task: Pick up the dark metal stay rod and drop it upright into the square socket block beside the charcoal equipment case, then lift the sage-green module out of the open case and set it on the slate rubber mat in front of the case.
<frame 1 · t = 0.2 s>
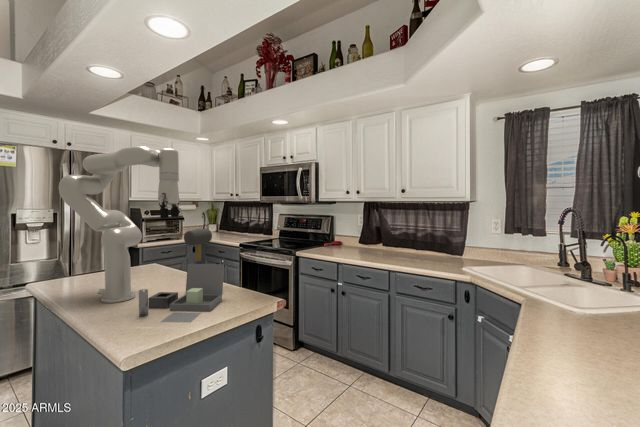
hand: (169, 217, 133), 36 cm above the countertop, tool pointing down, fingers open, 9 cm apart
square socket block: (163, 305, 127), on the countertop
module: (194, 306, 124), resting on case
rubber mallet: (198, 291, 148), on the countertop
case: (197, 306, 126), on the countertop
mat: (181, 318, 113), on the countertop
lid: (204, 279, 134), point 9 cm above the countertop, hinge at 100.0°
stay rod: (143, 316, 115), on the countertop
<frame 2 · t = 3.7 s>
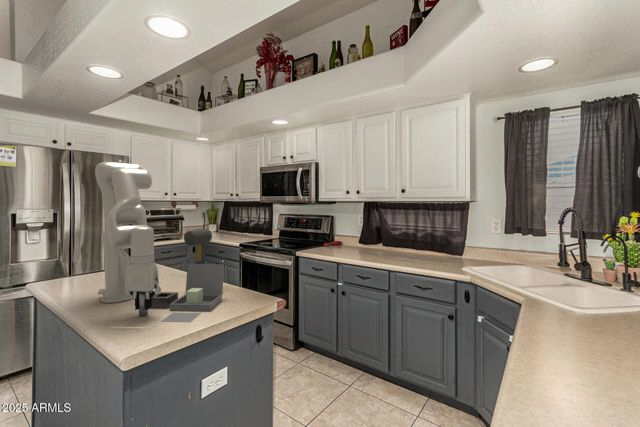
hand: (143, 308, 114), 3 cm above the countertop, tool pointing down, fingers closed on stay rod, 3 cm apart
stay rod: (143, 316, 115), on the countertop, touching gripper
everything else where it was.
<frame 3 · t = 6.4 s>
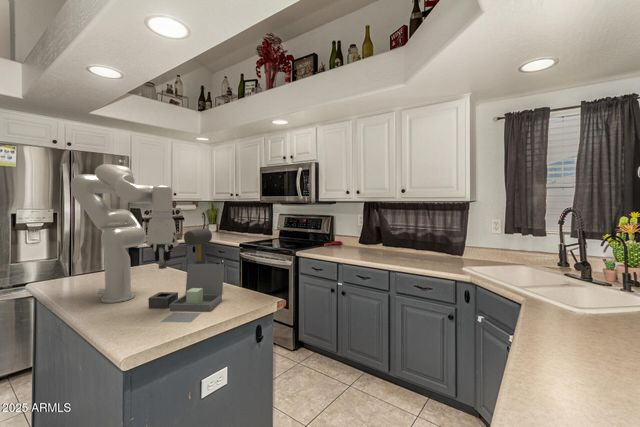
hand: (162, 260, 126), 19 cm above the countertop, tool pointing down, fingers closed on stay rod, 3 cm apart
stay rod: (162, 268, 126), point 16 cm above the countertop, touching gripper
everything else where it was.
when the fingers open (6 cm above the countertop, at t = 9.1 s): stay rod drops 3 cm, resting in square socket block.
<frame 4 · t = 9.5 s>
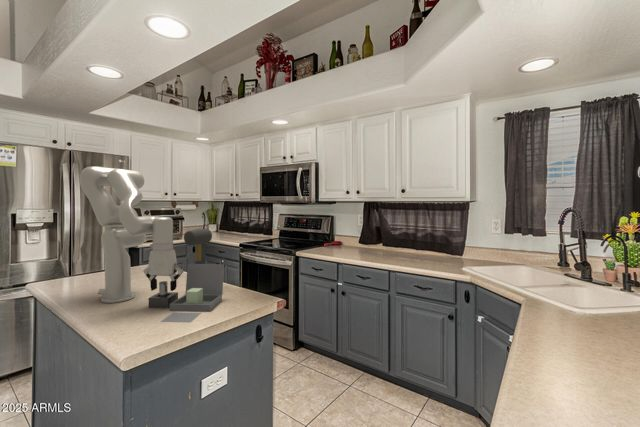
hand: (163, 289, 126), 7 cm above the countertop, tool pointing down, fingers open, 7 cm apart
stay rod: (163, 305, 127), resting in square socket block
everything else where it was.
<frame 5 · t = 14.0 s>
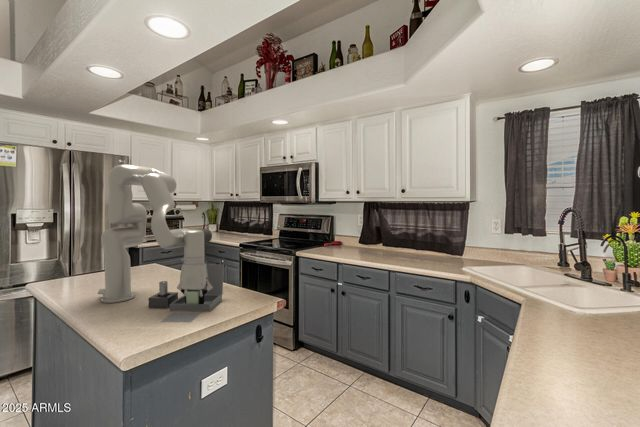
hand: (194, 304, 124), 1 cm above the countertop, tool pointing down, fingers closed on module, 4 cm apart
module: (194, 306, 124), resting on case, touching gripper
everything else where it was.
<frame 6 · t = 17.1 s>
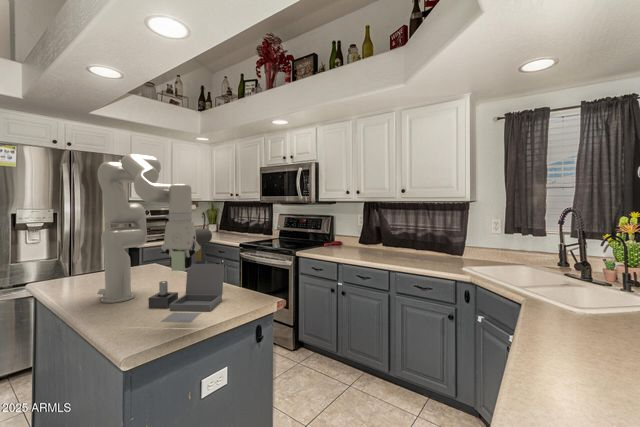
hand: (181, 266, 112), 19 cm above the countertop, tool pointing down, fingers closed on module, 4 cm apart
module: (181, 269, 112), point 18 cm above the countertop, touching gripper
everything else where it was.
when the fingers open (3 cm above the countertop, at t = 20.5 s): module drops 1 cm, resting on mat.
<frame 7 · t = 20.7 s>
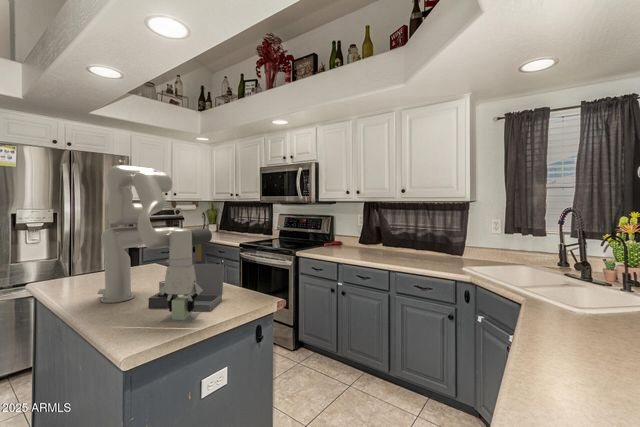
hand: (181, 310, 113), 3 cm above the countertop, tool pointing down, fingers open, 6 cm apart
module: (181, 317, 113), resting on mat
everything else where it was.
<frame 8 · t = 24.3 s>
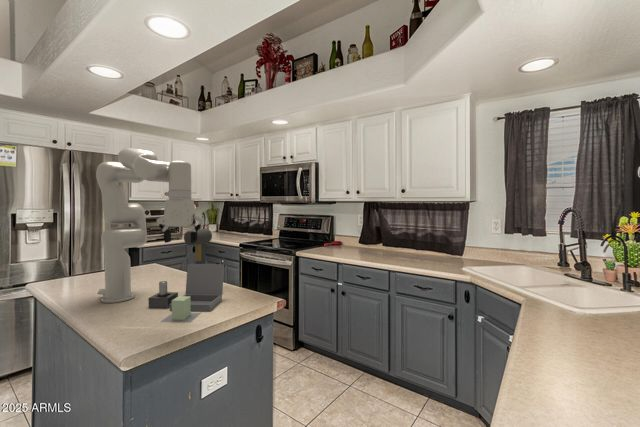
hand: (180, 242, 112), 28 cm above the countertop, tool pointing down, fingers open, 9 cm apart
nothing on the countertop moved.
at the end: stay rod 0.0 cm off-centre on the square socket block, point 0.0 cm above the square socket block's base; stay rod tilted 1°; module inside the target area on the mat (0.1 cm from its centre), point 0.5 cm above the mat's base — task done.
